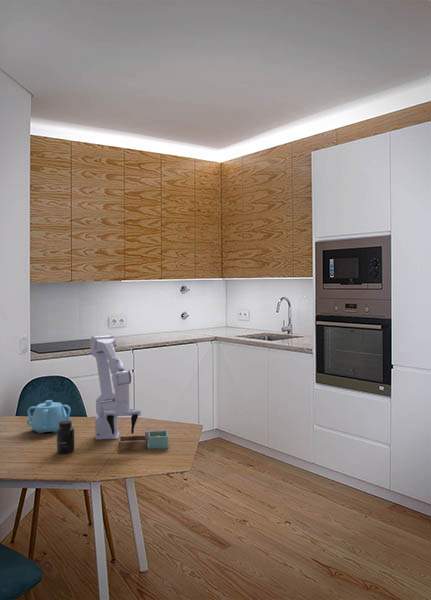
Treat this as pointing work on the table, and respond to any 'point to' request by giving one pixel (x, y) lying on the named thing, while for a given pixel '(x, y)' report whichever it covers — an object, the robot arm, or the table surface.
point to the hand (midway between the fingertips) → (122, 433)
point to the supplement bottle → (65, 438)
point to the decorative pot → (48, 416)
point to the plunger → (147, 435)
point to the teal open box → (158, 440)
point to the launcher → (132, 443)
